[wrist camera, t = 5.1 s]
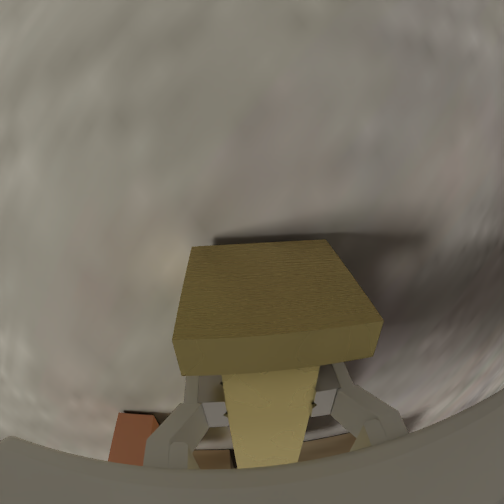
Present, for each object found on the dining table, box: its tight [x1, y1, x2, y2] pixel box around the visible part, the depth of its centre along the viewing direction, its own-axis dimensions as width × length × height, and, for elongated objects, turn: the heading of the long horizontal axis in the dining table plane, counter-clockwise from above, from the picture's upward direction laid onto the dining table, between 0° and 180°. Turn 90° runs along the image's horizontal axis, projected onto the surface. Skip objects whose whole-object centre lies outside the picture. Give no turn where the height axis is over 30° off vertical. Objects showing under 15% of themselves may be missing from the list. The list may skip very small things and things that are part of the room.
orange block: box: [108, 413, 159, 466], centre depth 14 cm, size 4×2×4 cm, turn 2°
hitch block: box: [192, 433, 356, 469], centre depth 17 cm, size 6×16×5 cm, turn 92°
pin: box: [172, 239, 384, 469], centre depth 12 cm, size 15×5×5 cm, turn 1°
